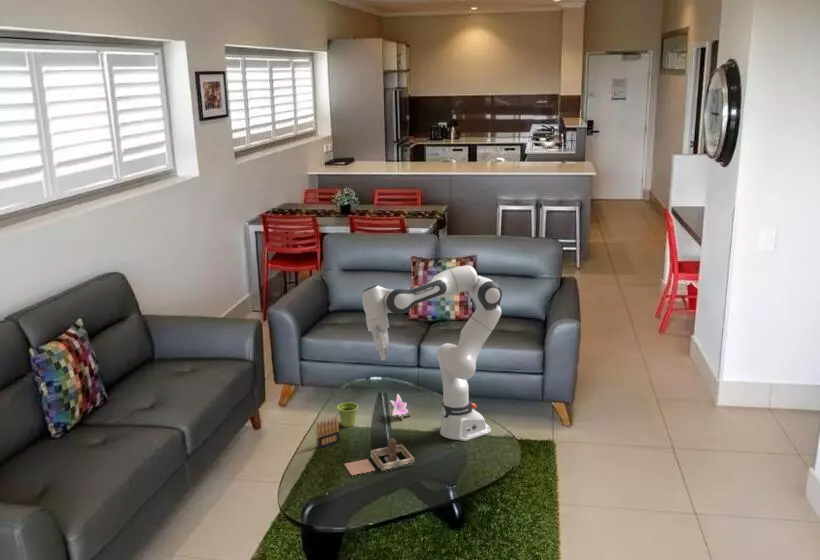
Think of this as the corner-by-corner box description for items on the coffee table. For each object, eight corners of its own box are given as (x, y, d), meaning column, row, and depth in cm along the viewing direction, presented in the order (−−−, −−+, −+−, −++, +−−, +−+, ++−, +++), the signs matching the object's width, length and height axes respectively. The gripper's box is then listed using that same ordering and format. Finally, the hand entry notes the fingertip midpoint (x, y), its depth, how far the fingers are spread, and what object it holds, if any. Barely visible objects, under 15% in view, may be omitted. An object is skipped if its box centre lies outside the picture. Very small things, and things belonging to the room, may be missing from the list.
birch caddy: (402, 450, 313) (401, 443, 313) (414, 465, 301) (414, 458, 300) (370, 456, 308) (370, 450, 308) (382, 472, 296) (381, 465, 295)
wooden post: (395, 457, 308) (395, 436, 305) (400, 462, 303) (399, 441, 301) (384, 459, 306) (383, 438, 304) (388, 465, 301) (388, 443, 299)
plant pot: (357, 428, 335) (357, 410, 332) (336, 428, 335) (336, 411, 333) (359, 419, 344) (358, 402, 342) (339, 419, 344) (338, 402, 342)
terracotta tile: (367, 460, 306) (367, 458, 306) (375, 471, 297) (375, 469, 297) (344, 464, 302) (344, 463, 302) (351, 476, 293) (351, 474, 293)
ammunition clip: (318, 449, 316) (317, 423, 313) (316, 447, 318) (314, 421, 315) (340, 442, 322) (339, 416, 319) (338, 440, 324) (336, 415, 321)
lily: (388, 426, 339) (398, 410, 335) (378, 408, 347) (387, 392, 343) (409, 426, 346) (418, 411, 343) (398, 409, 354) (407, 394, 351)
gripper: (383, 326, 294) (390, 360, 295) (387, 321, 315) (394, 353, 315) (367, 329, 295) (374, 363, 295) (373, 324, 315) (379, 356, 315)
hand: (384, 358), depth 305 cm, fingers open, 8 cm apart
